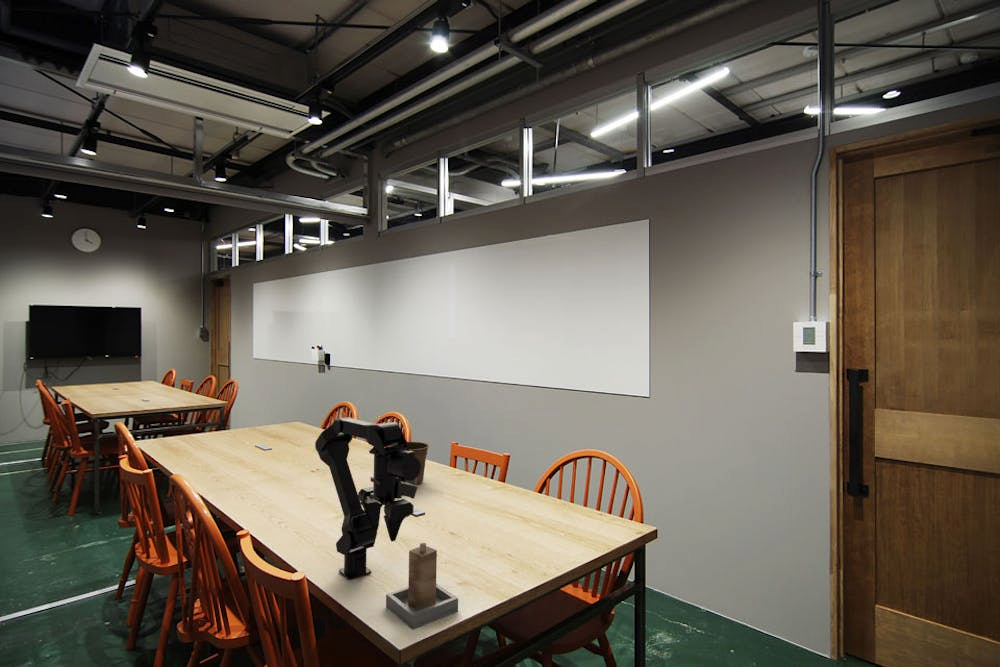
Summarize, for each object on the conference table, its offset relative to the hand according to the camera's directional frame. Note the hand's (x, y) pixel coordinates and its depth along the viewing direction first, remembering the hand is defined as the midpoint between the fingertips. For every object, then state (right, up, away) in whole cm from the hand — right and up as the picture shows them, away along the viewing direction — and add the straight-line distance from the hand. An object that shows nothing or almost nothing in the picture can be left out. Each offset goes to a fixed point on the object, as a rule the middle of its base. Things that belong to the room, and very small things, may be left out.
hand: (384, 535), depth 128 cm
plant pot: (-10, -15, +95) cm, 97 cm away
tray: (+11, -13, -10) cm, 20 cm away
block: (+11, -12, -10) cm, 19 cm away
